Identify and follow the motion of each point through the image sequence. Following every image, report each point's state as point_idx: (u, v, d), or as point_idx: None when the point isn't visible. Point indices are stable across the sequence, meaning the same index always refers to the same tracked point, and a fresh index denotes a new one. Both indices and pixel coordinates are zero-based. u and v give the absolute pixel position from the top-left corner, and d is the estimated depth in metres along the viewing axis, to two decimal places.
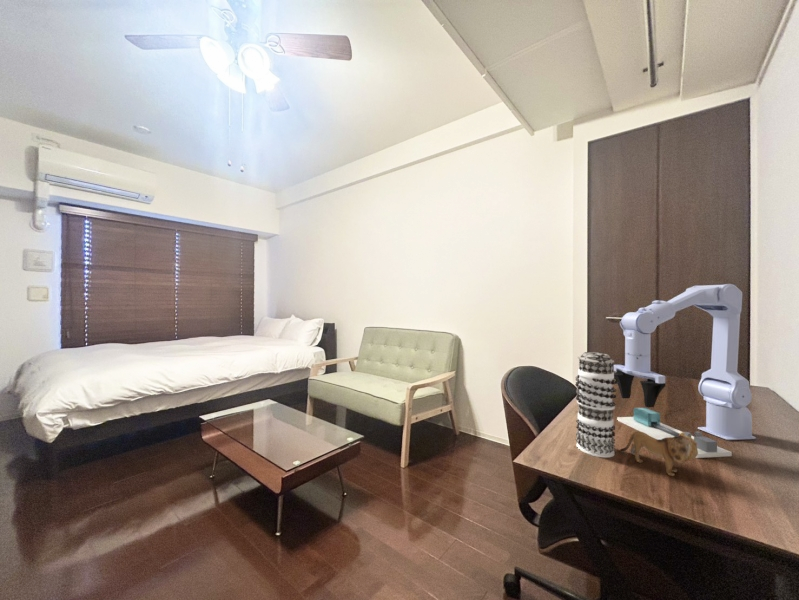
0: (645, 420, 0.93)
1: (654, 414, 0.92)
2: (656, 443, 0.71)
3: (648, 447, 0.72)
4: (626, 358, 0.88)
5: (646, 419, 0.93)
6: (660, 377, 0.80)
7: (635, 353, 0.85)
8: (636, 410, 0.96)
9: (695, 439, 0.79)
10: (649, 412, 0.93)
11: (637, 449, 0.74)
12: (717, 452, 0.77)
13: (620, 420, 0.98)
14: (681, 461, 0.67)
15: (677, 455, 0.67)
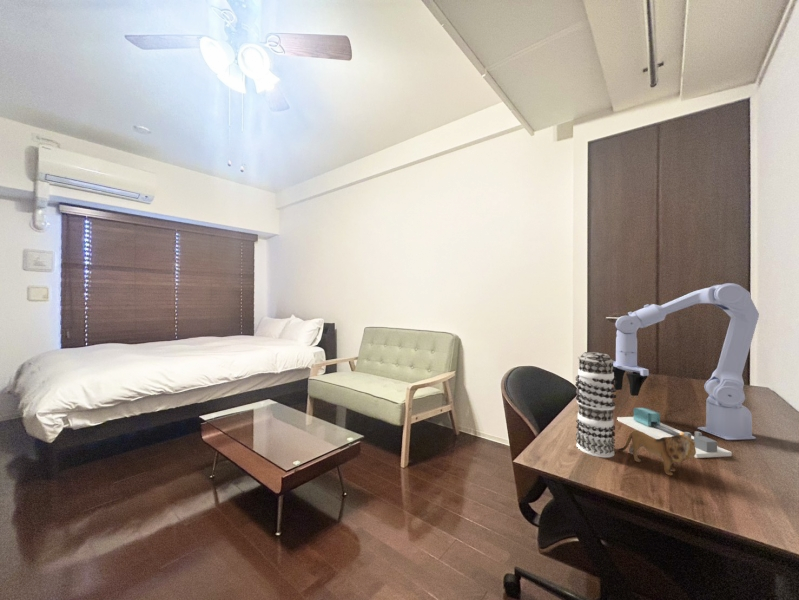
0: (645, 420, 0.93)
1: (654, 414, 0.92)
2: (654, 443, 0.71)
3: (646, 446, 0.73)
4: (616, 355, 1.03)
5: (646, 419, 0.93)
6: (644, 370, 0.95)
7: (618, 349, 1.02)
8: (636, 410, 0.96)
9: (695, 439, 0.79)
10: (649, 412, 0.93)
11: (635, 448, 0.75)
12: (717, 452, 0.77)
13: (620, 420, 0.98)
14: (679, 460, 0.67)
15: (675, 454, 0.67)
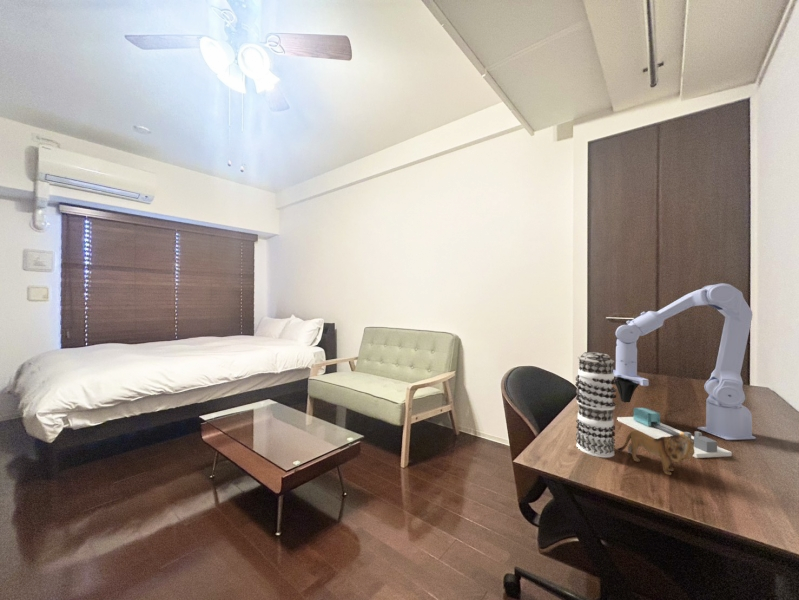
0: (645, 420, 0.93)
1: (654, 414, 0.92)
2: (653, 442, 0.71)
3: (645, 446, 0.73)
4: (616, 364, 1.03)
5: (646, 419, 0.93)
6: (644, 380, 0.95)
7: (618, 359, 1.02)
8: (636, 410, 0.96)
9: (695, 439, 0.79)
10: (649, 412, 0.93)
11: (634, 448, 0.75)
12: (717, 452, 0.77)
13: (620, 420, 0.98)
14: (678, 460, 0.68)
15: (674, 454, 0.68)
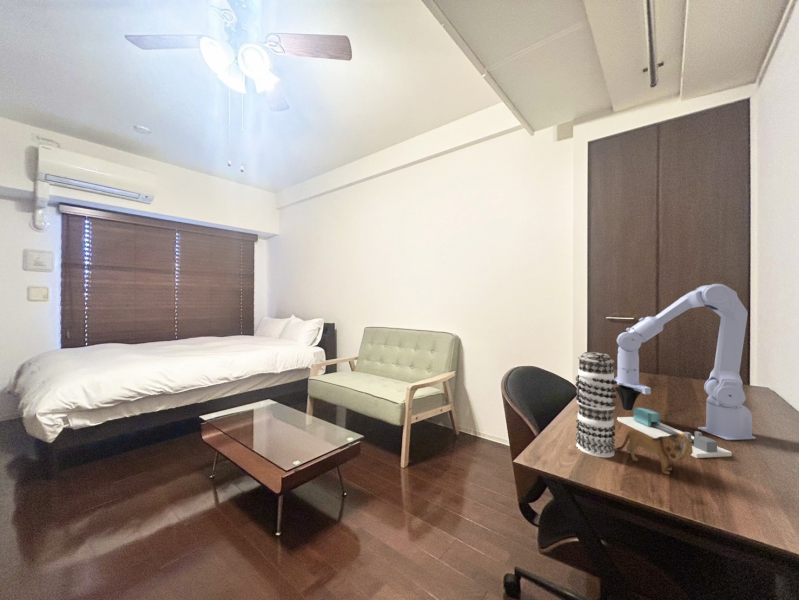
0: (645, 420, 0.93)
1: (654, 414, 0.92)
2: (651, 442, 0.72)
3: (644, 446, 0.73)
4: (618, 371, 1.02)
5: (646, 419, 0.93)
6: (646, 389, 0.94)
7: (620, 366, 1.01)
8: (636, 410, 0.96)
9: (695, 439, 0.79)
10: (649, 412, 0.93)
11: (633, 448, 0.75)
12: (717, 452, 0.77)
13: (620, 420, 0.98)
14: (676, 459, 0.68)
15: (672, 453, 0.68)
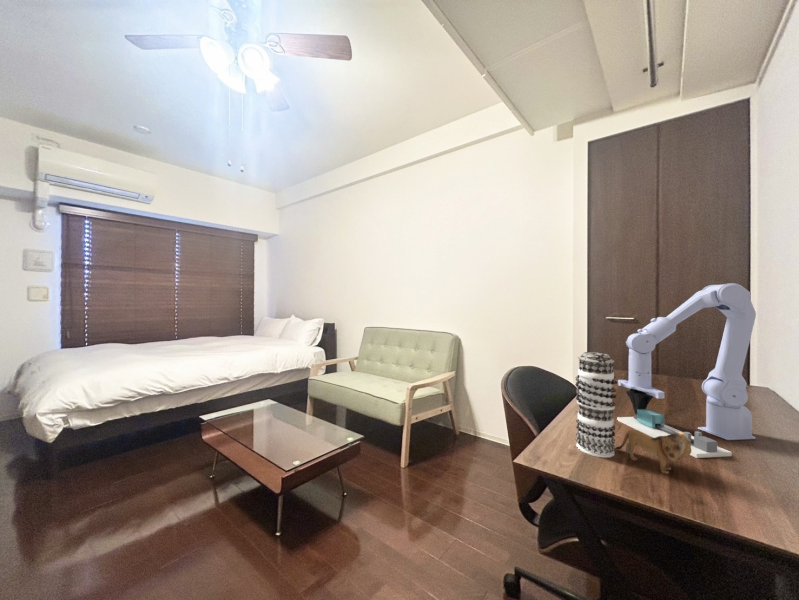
0: (649, 421, 0.92)
1: (658, 416, 0.91)
2: (650, 441, 0.72)
3: (643, 445, 0.73)
4: (629, 375, 0.98)
5: (650, 421, 0.91)
6: (660, 393, 0.90)
7: (633, 370, 0.97)
8: (640, 411, 0.95)
9: (695, 439, 0.79)
10: (653, 414, 0.92)
11: (632, 447, 0.75)
12: (717, 452, 0.77)
13: (620, 420, 0.98)
14: (675, 459, 0.68)
15: (671, 453, 0.68)
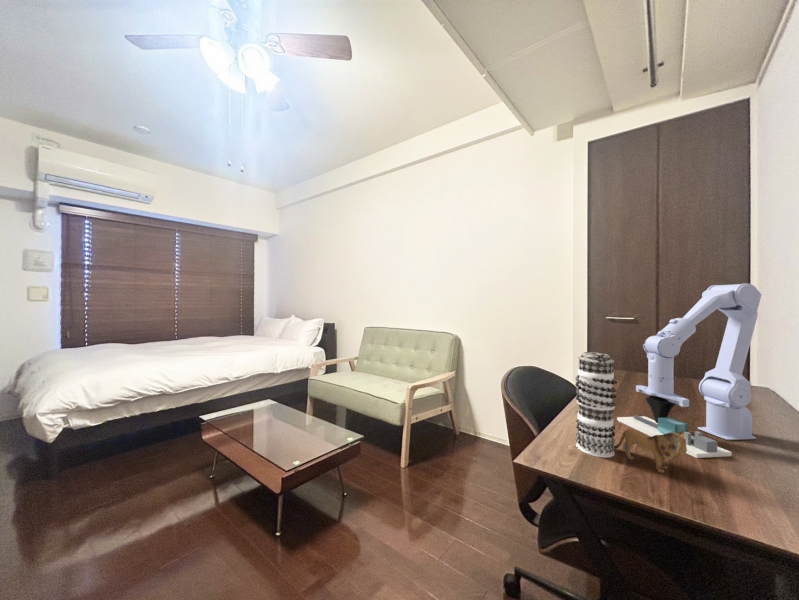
0: (672, 431, 0.85)
1: (682, 425, 0.84)
2: (646, 440, 0.72)
3: (639, 444, 0.74)
4: (649, 380, 0.91)
5: (673, 430, 0.85)
6: (684, 401, 0.83)
7: (657, 376, 0.89)
8: (661, 420, 0.88)
9: (695, 439, 0.79)
10: (676, 423, 0.85)
11: (628, 446, 0.76)
12: (717, 452, 0.77)
13: (620, 420, 0.98)
14: (670, 458, 0.68)
15: (666, 452, 0.69)
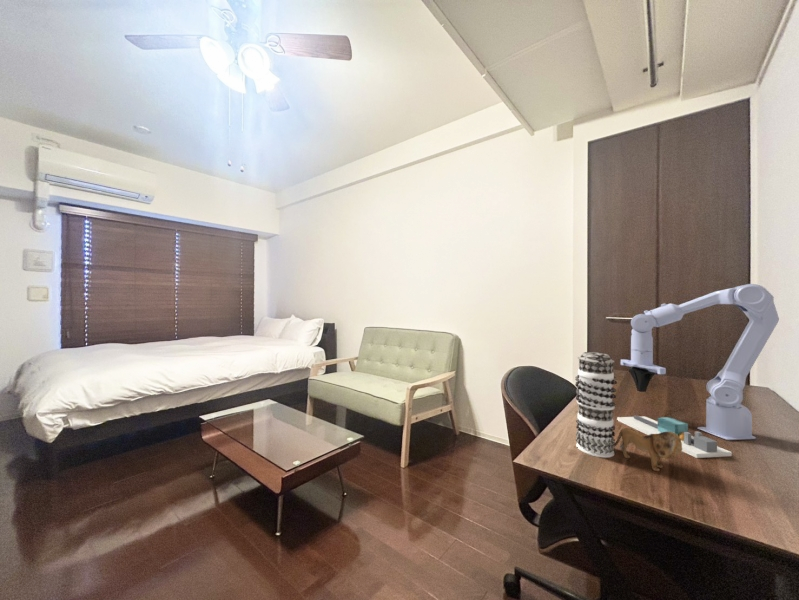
0: (672, 431, 0.85)
1: (682, 425, 0.84)
2: (642, 439, 0.73)
3: (635, 443, 0.74)
4: (632, 353, 1.02)
5: (673, 430, 0.85)
6: (661, 369, 0.95)
7: (633, 348, 1.02)
8: (661, 420, 0.88)
9: (695, 439, 0.79)
10: (676, 422, 0.85)
11: (625, 445, 0.76)
12: (717, 452, 0.77)
13: (620, 420, 0.98)
14: (665, 457, 0.69)
15: (661, 451, 0.69)
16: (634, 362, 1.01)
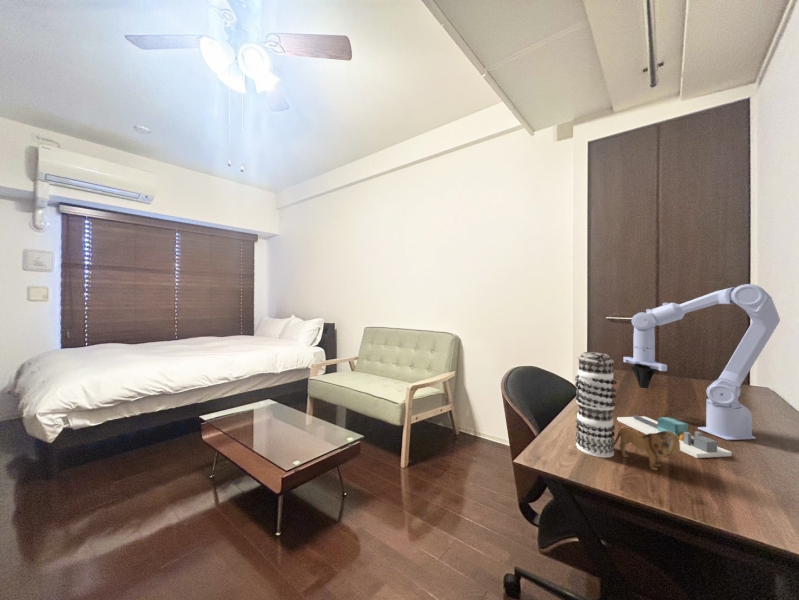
0: (672, 431, 0.85)
1: (682, 425, 0.84)
2: (640, 439, 0.73)
3: (633, 442, 0.75)
4: (634, 351, 1.05)
5: (673, 430, 0.85)
6: (663, 366, 0.98)
7: (634, 345, 1.05)
8: (661, 420, 0.88)
9: (695, 439, 0.79)
10: (676, 422, 0.85)
11: (623, 444, 0.77)
12: (717, 452, 0.77)
13: (620, 420, 0.98)
14: (663, 456, 0.69)
15: (659, 450, 0.69)
16: (636, 359, 1.04)
